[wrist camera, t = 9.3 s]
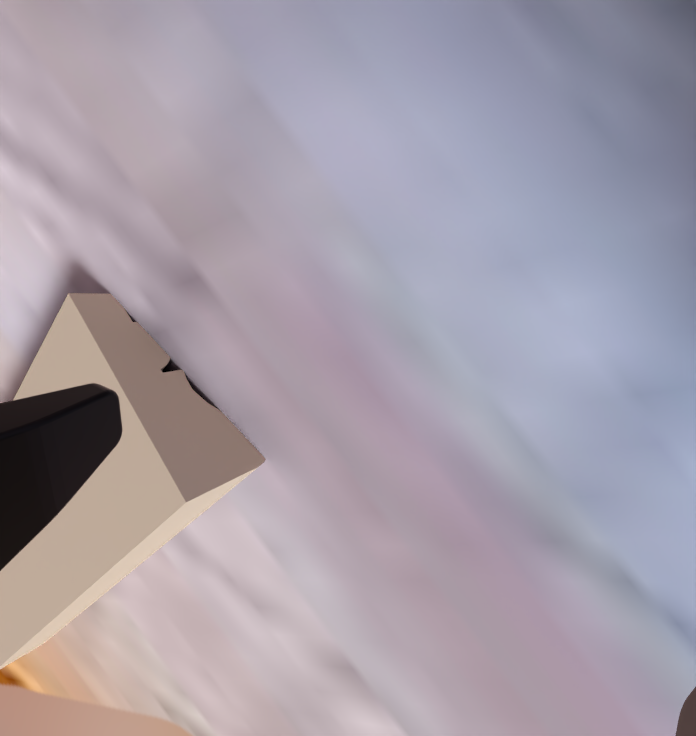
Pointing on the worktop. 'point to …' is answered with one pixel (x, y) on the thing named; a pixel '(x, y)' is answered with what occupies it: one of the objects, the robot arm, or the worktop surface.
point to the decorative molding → (116, 471)
